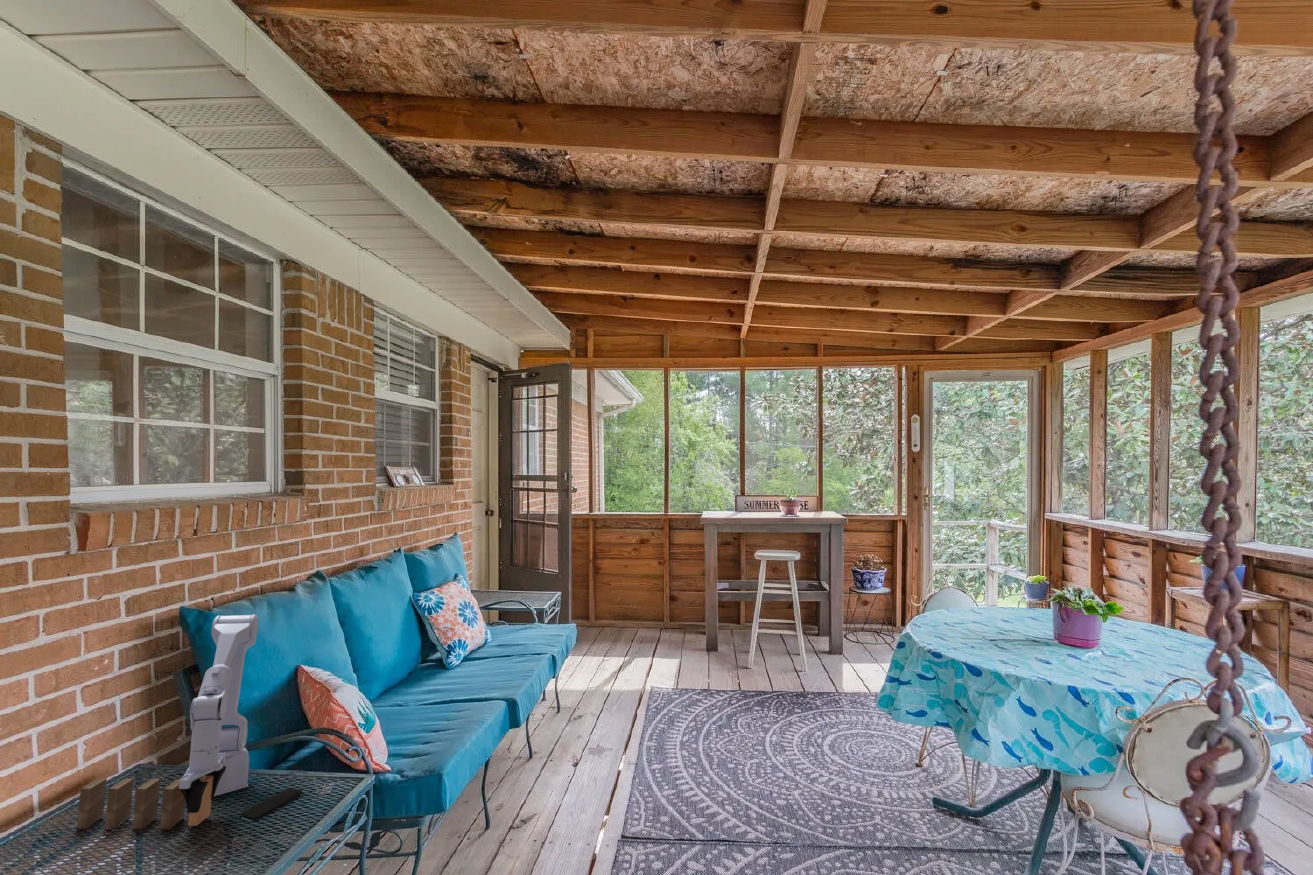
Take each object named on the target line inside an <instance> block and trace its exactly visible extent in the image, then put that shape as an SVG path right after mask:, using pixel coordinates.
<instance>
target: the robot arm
mask: <svg viewBox="0 0 1313 875" xmlns="http://www.w3.org/2000/svg"><path fill="white" fill-rule="evenodd" d="M258 630H259V615H257V614H254V613H253V614H244V615H243V614H241V615H240V614H239V615H238V614H237V615H235V614H234V615H221V614H218V615H217V616H215V617H214V618H213V621H212V626H211V637H212V639H213V642H214V643H215V646H216V650H215V653H214V654H215V655H214V660H213V665H212V666H210V668H208V669H207V670H206V671H205V673H204V676H203V680H202V682H201V685H200V688H199V692H198V694H197V697H194V698H193V699H192V702H191V705H190V709H189V720H190V728H189V729H190V731H191V738H190V740H191V741H190V753H189V764H188V768H187V769H186V771H185V773H184V775H183V776H182V777H181V778H179V779H180V781H179V789H180V791H181V792H182V794H183V796H184V798H185V804H186V805H185V806H186V809H187V810H186V811H187V813H188V814H189V813H197V812H198V811H199V809H200V806H201V801H202V796H203V793H204V790H205V788H206V786H207V784H208V782H201V780H200V779H201V778H202V777H203V776H213V786H212V795H211V802H212V801H213V799H214V797H217V796H221V795H223V794H228V793H230V792H234V791H237V790H241V789H245V788H247V787H249V784H248V780H249V778H248V777H249V769H250V768H249V767H250V756H249V751H248V750H247V748H246V744H247V740H248V739H247V738H248V723H249V722H248V720H247V718H246V717H245V716H244V715H241V714H240V713H239V712H238V708H239V700H240V696H241V695H240V694H241V685H242V681H243V680H242V679H243V674H244V666H245V658H246V654H247V651H248V649H249V648H251V647H253V646H255V645H256V642H257V638H258ZM233 725H234V726H233Z"/></svg>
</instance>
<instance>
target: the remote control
mask: <svg viewBox="0 0 1313 875" xmlns="http://www.w3.org/2000/svg"><path fill="white" fill-rule="evenodd" d="M301 794H303V795H304V793H303V790H302V789H298V788H295V787H292V788H291V787H288V788H286V789H284V790H282V791H281V792H279V793H277V794H275V795H273V796H270V797H269V798H267V799H265V800H264V801H261V802H260V803H258V804H256V805H254V806H251V807H250V808H248V809H246V810H244V811H242V812H241V813H240V815H241V817H244V818H247V819H250V820H256V821H258V820H260V819H262V818H263V816H264V817H265V815H266V816H267V815H269V814H271V813H273V812H275V811H277V810H278V809H277V808H279V809H280V808H282V807H284V806H285V804H286V805H287V803H288V802H289V803H291V802H293V801H294V799H295V798H297V797H298V796H300V795H301ZM300 797H301V796H300ZM297 799H298V798H297ZM295 800H296V799H295ZM290 801H291V802H290ZM289 803H288V804H289ZM276 809H277V810H276ZM274 810H275V811H274ZM261 817H262V818H261ZM259 818H260V819H259ZM257 819H258V820H257Z"/></svg>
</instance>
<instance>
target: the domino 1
mask: <svg viewBox="0 0 1313 875" xmlns="http://www.w3.org/2000/svg"><path fill="white" fill-rule="evenodd" d="M107 781H108V780H107V778H96V779H95V780H93V781H91V782H90V783H88V784H86V785H85V786H83V787H81V788H80V793H79V794H80V795H79V804H78V805H79V807H78V815H77V823H76V824H77V826H76V829H77V828H78V827H81V828H87V827H88V826H90V825H91V824H93V823H94V822H96V821H97V820H99V819H100V818H101V817H103V818H104V813H105V812H104V811H105V803H106V802H105V800H106V790H107ZM99 821H100V820H99ZM96 823H97V822H96ZM93 825H94V824H93ZM90 827H91V826H90ZM87 829H88V828H87Z"/></svg>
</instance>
